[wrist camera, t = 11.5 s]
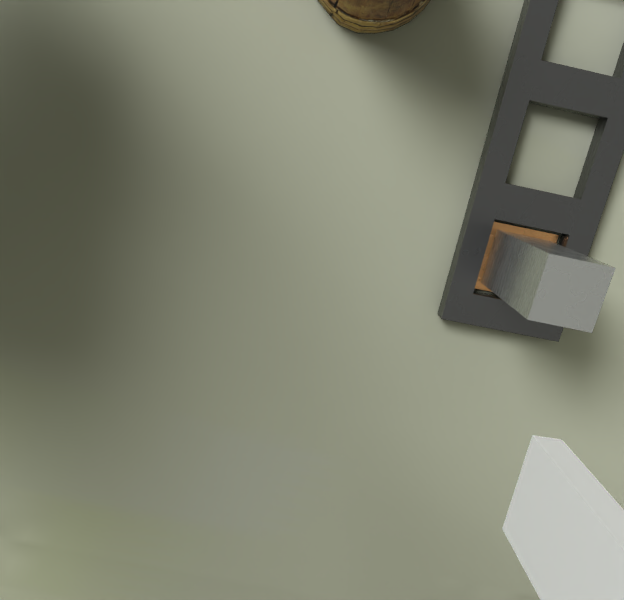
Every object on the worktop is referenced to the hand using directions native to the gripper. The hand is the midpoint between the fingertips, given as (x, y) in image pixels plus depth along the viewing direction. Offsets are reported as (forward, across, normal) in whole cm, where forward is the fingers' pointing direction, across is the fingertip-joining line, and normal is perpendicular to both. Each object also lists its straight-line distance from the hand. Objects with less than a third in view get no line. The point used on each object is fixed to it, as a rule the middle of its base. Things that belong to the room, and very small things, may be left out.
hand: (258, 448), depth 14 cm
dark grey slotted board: (+28, +18, +9) cm, 35 cm away
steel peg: (+28, +18, +1) cm, 33 cm away
